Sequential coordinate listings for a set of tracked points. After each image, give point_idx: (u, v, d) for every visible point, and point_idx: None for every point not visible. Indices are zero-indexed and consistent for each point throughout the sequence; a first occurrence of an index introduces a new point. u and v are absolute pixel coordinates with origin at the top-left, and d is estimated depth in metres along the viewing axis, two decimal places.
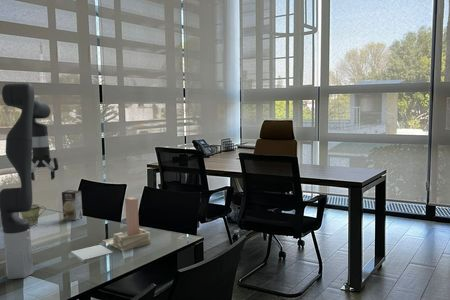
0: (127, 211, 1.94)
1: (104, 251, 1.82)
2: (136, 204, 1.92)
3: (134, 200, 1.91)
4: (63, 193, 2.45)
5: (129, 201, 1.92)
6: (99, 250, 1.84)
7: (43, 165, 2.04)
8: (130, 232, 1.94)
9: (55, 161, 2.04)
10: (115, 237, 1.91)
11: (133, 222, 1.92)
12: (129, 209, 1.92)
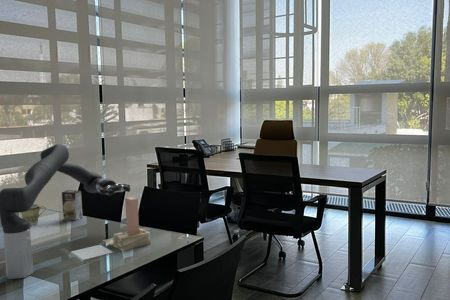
0: (127, 211, 1.94)
1: (104, 251, 1.82)
2: (136, 204, 1.92)
3: (134, 200, 1.91)
4: (63, 193, 2.45)
5: (129, 201, 1.92)
6: (99, 250, 1.84)
7: (116, 186, 2.07)
8: (130, 232, 1.94)
9: (125, 184, 2.12)
10: (115, 237, 1.91)
11: (133, 222, 1.92)
12: (129, 209, 1.92)
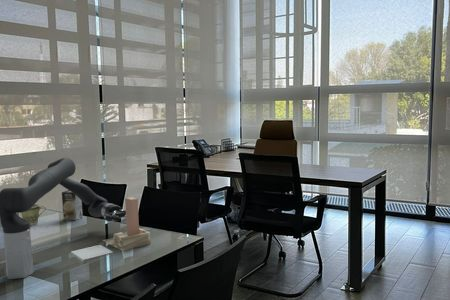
0: (127, 211, 1.94)
1: (104, 251, 1.82)
2: (136, 204, 1.92)
3: (134, 200, 1.91)
4: (63, 193, 2.45)
5: (129, 201, 1.92)
6: (99, 250, 1.84)
7: (121, 212, 2.04)
8: (130, 232, 1.94)
9: None
10: (115, 237, 1.91)
11: (133, 222, 1.92)
12: (129, 209, 1.92)
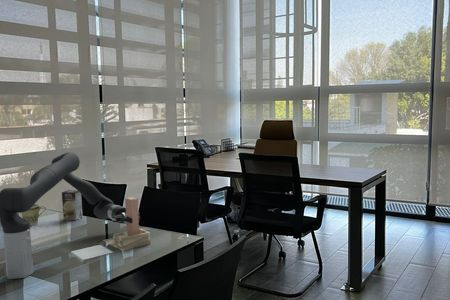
0: (127, 211, 1.94)
1: (104, 251, 1.82)
2: (136, 204, 1.92)
3: (134, 200, 1.91)
4: (63, 193, 2.45)
5: (129, 201, 1.92)
6: (99, 250, 1.84)
7: None
8: (130, 232, 1.94)
9: None
10: (115, 237, 1.91)
11: (133, 222, 1.92)
12: (129, 209, 1.92)
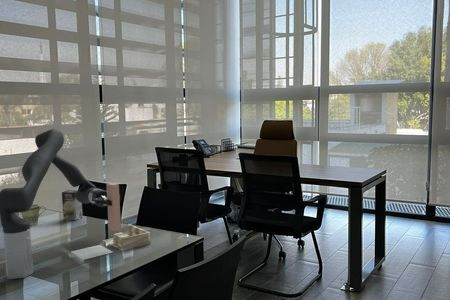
0: (108, 197, 1.86)
1: (104, 251, 1.82)
2: (117, 190, 1.84)
3: (115, 186, 1.83)
4: (63, 193, 2.45)
5: (110, 186, 1.84)
6: (99, 250, 1.84)
7: None
8: (111, 219, 1.85)
9: None
10: (115, 237, 1.91)
11: (114, 208, 1.84)
12: (110, 195, 1.84)
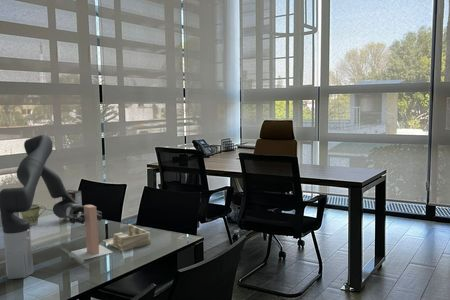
0: (86, 220, 1.81)
1: (104, 251, 1.82)
2: (95, 212, 1.79)
3: (92, 208, 1.78)
4: None
5: (87, 209, 1.79)
6: (99, 250, 1.84)
7: None
8: (89, 242, 1.80)
9: (97, 211, 1.90)
10: (115, 237, 1.91)
11: (92, 231, 1.79)
12: (88, 217, 1.79)
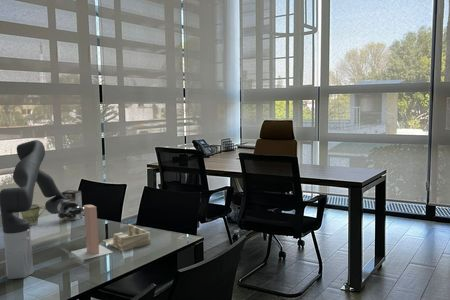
0: (86, 220, 1.81)
1: (104, 251, 1.82)
2: (95, 212, 1.79)
3: (92, 208, 1.78)
4: (63, 193, 2.45)
5: (87, 209, 1.79)
6: (99, 250, 1.84)
7: (77, 209, 1.95)
8: (89, 242, 1.80)
9: None
10: (115, 237, 1.91)
11: (92, 231, 1.79)
12: (88, 217, 1.79)
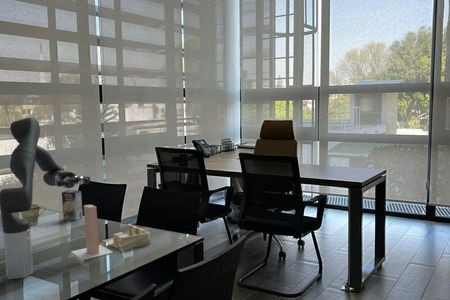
0: (86, 220, 1.81)
1: (104, 251, 1.82)
2: (95, 212, 1.79)
3: (92, 208, 1.78)
4: (63, 193, 2.45)
5: (87, 209, 1.79)
6: (99, 250, 1.84)
7: (74, 178, 1.94)
8: (89, 242, 1.80)
9: (85, 176, 1.99)
10: (115, 237, 1.91)
11: (92, 231, 1.79)
12: (88, 217, 1.79)
